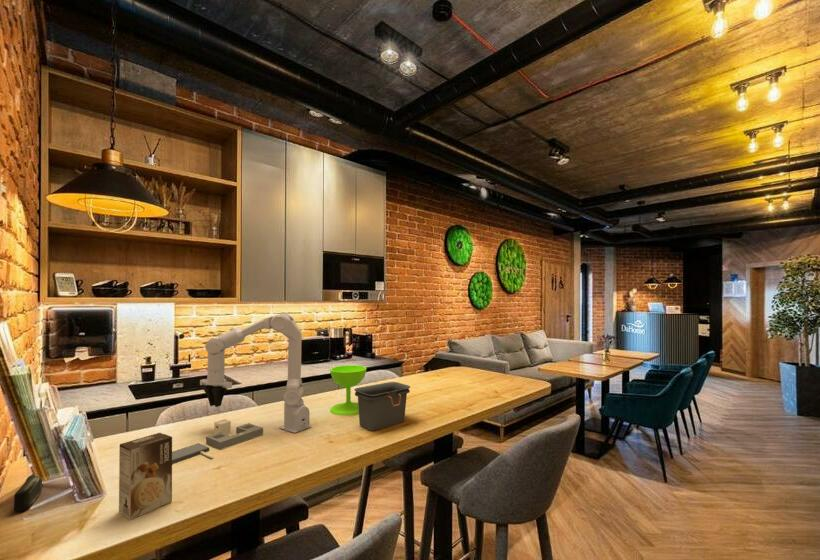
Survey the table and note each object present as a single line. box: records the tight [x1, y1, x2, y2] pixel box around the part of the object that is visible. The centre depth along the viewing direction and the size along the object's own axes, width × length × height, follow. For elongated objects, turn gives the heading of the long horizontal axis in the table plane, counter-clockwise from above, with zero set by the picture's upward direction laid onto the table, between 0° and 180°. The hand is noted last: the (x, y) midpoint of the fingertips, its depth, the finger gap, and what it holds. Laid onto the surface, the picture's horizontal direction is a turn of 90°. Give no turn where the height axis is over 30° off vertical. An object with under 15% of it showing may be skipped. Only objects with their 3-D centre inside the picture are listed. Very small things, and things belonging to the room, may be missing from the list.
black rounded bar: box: [13, 473, 44, 513], centre depth 94 cm, size 5×3×15 cm
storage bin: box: [353, 381, 411, 431], centre depth 147 cm, size 21×16×14 cm
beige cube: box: [213, 419, 232, 435], centre depth 137 cm, size 4×4×4 cm
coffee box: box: [118, 432, 173, 520], centre depth 91 cm, size 9×6×16 cm
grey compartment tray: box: [205, 422, 264, 450], centre depth 132 cm, size 9×16×2 cm, turn 146°
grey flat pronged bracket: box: [172, 442, 214, 465], centre depth 117 cm, size 14×13×1 cm
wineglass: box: [329, 364, 367, 416], centre depth 166 cm, size 16×16×18 cm
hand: (215, 405), depth 140 cm, fingers closed
